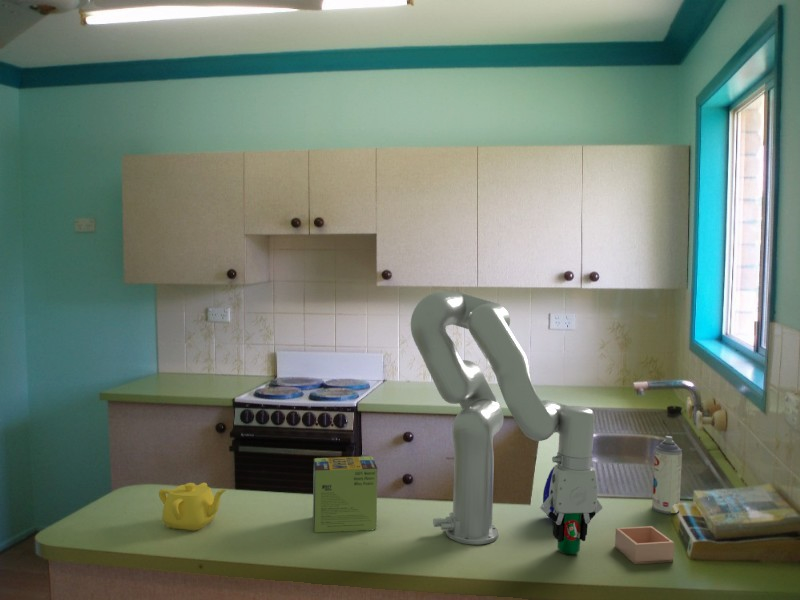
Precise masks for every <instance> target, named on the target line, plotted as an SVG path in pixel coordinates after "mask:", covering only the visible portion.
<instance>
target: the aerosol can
mask: <svg viewBox="0 0 800 600" xmlns="http://www.w3.org/2000/svg"><path fill="white" fill-rule="evenodd" d="M682 458H683V452H682V448H681V447H680V446H678V444H676V442H675V441H674V440H673V436H671V435H665V439H664V440H663V441H662V442H659V444H657V445H655V448H654V459H653V481H652V483H653V485H652V501H651V502H652V503H651V504H652V505H651V508H652V510H653V511H655V512H657V513H659V514H660V513H661V514H664V515H672V514H671V509H672V506H673V505H674V504H678V503H681V502H680V501H681V481H682V463H683V462H682V460H683V459H682Z"/></svg>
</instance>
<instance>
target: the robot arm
mask: <svg viewBox="0 0 800 600" xmlns="http://www.w3.org/2000/svg"><path fill="white" fill-rule="evenodd" d="M510 317H511V316H510V314H509V312H508V310H507V309H506V308H505V307H504V306H503V305H501V304H500V303H497V302H494V301H491V300H487V299H483V298H480V297H476V296H473V295H469V294H466V293H462V292H460V291H455V290H446V291H444V290H443V291H436V292H432V293H429V294H427V295H426V296H424V297H423V298H422V299H421V300H419V302H418V303H417V304H416V306H415V308H414V309H413V311H412V314H411V318H410V332H411V336H412V338H413V341H414V344H415V346H416V347H417V350H418V351H419V353H420V356H421V357H422V360H423V362H424V364H425V366H426V368H427V370H428V373H429V374H430V375H429V376H431V378H432V381H433V383H434V385H435V387H436V390H437V392H438V393H439V395H440V397H441V398H442V399H443V400H444V401H445V402H446V403H448V404H450V405H451V404H452V405H457V404H459V405H460V408H461V410H460V411H459V412H458V413H457V414H456V416H455V418H454V420H453V424H452V431H451V433H452V443H453V491H452V492H453V499H452V500H453V501H452V503H453V504H452V512H449V516H445V518H440V517H438V518H432V520H433V521H432V525H433V527H434V528H440V530H442V531H444V530H445V532H446V536H447V537H448V538H449V539H451V540H453V541H454V542H458V543H461V544H466V545H485V544H486V545H487V544H490V543H494V541H497V539H498V538H499V529H498V528H497V527H496V526H494V525H493V507H494V505H493V504H494V503H493V502H494V501H493V500H494V475H495V474H494V472H495V471H494V468H495V467H494V466H495V462H494V461H495V460H494V459H495V458H494V455H495V454H494V447H493V443H494V442H493V439H494V436H495V435H496V434H497V433H499V431H500V430H501V429H502V427H503V425H504V419H505V418H504V412H503V409H502V406H501V405H500V402H499V400H498V398H497V396H496V394H495V392H494V390H493V388H492V386H491V384H490V383H489V380H488V379H487V376H486V375H485V373H484V371H483V370H482V368H481V367H480V366H479V365H478V364H476V362H474V361H471V360H467V359H466V360H465V359H462V357H461V355H460V353H459V351H458V349H457V347H456V344H455V343H454V341H453V339H452V338H451V337H450V336H449V334H448V333H447V330H446V328H447V327H448V326H451V325H453V326H455V327H456V326H457V327H461V328H463V329H466V330H468V331H469V333H470V335H471V337H472V338H473V340H474V342H475V343H476V345H477V347H478V348H479V350H480V351H481V353H482V355H483V357H484V358H485V359H486V361H487V363H488V365H489V367H490V368H491V370H492V371H493V373H494V375H495V377H496V378H495V379H496V381H497V384H498V387H499V390H500V393H501V395H502V397H503V400H504V402H505V405H506V408H507V409H508V411H509V413H510V414H511V415H512V417H513V419H514V421H515V422H516V424H517V425H518V427H519V429H520V430H521V432H522V433H523V434H524V435H525V436H526V437H527V438H529V439H531V440H533V441H536V442H542V441H546V440H548V439H550V437H551V436H553V435H554V434H555V433H558V435H559V436H558V449H557V452H556V453H557V454H556V455H555V456H552V457H551V458H552V459H551V460H552V463H556V464H554V466H555V467H554V466H553V467H554V470H553V473H552V478H551V483H550V490H549V497H548V498H547V499H546V501H545V502H544V503H543V502H542V504H541V506H540V507H539V508H540V510H541V511H542V512H543V513H544V514H546V516H547V515H548V516H549V517H550V518H551V519H552V520H553V521H552V520H551V519H550V518H549V517H548V516H547V517H548V518H549V519H550V520H551V521H552V524H553V525H552V526H553V527H552V536H553V537H554V539H556V540H557V542H558V541H559V542H562V539H563V525H562V524H561V522H562V519H563V516H564V514H573V513H582V526H581V541H582V542H585V541H586V536H587V535H588V525H589V524H590V523H591V521H592V519H593V518H594V517H595V516H596V514H598V513H599V512H600V511H602V510H603V505H602V504H601V503H600V501H599V500H598V482H597V475H596V468H594V467H593V466H592V462H593V448H594V433H595V418H596V417H595V416H596V415H595V413H594V411H593V410H592V409H591V408H589V407H585V406H582V405H566V404H563V403H559V402H556V401H551V400H547V399H545V400H544V399H543V400H541V399H540V396H539V394H538V393H537V391H536V389H535V387H534V385H533V383H532V382H533V381H532V380H531V376H530V367H529V359H528V356H527V354H526V353H525V350H524V349H523V347H522V346H521V345H520V343H519V341H518V340H517V338H516V337H515V335H514V333H513V332H512V330H511V328H510V323H511V318H510ZM550 506H552V507H554V512H552V511H551V510H550Z"/></svg>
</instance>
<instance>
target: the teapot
mask: <svg viewBox="0 0 800 600" xmlns="http://www.w3.org/2000/svg"><path fill="white" fill-rule="evenodd" d="M224 492H227V489H220V490H217V491H216V492H215V494H213V491H212V488H211V487H209V486H208V484H207V482H201V483H199V484H196V483H195V482H187V483H185V484H180V485H178V486H177V487H175V488H173V489H168V488H162V489H160V490H159V491H158V496H159V498H160V502H162V504H163V509H162V517H161V518H162V523H163V524H164V526H165V527H168V528H171V529H172V530H178V529H179V530H187V531H188V530H189V531H190V532H196V531H198V530H201V529H203V528H205V527H206V526H207V525H209V524H210V523H211V522H212V521H213V520H214V518H215V517H216V515H217V513H218V510H219V509H220V505H221V504H220V503H221V496H222V495H223V493H224ZM166 494H167V495H166Z"/></svg>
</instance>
